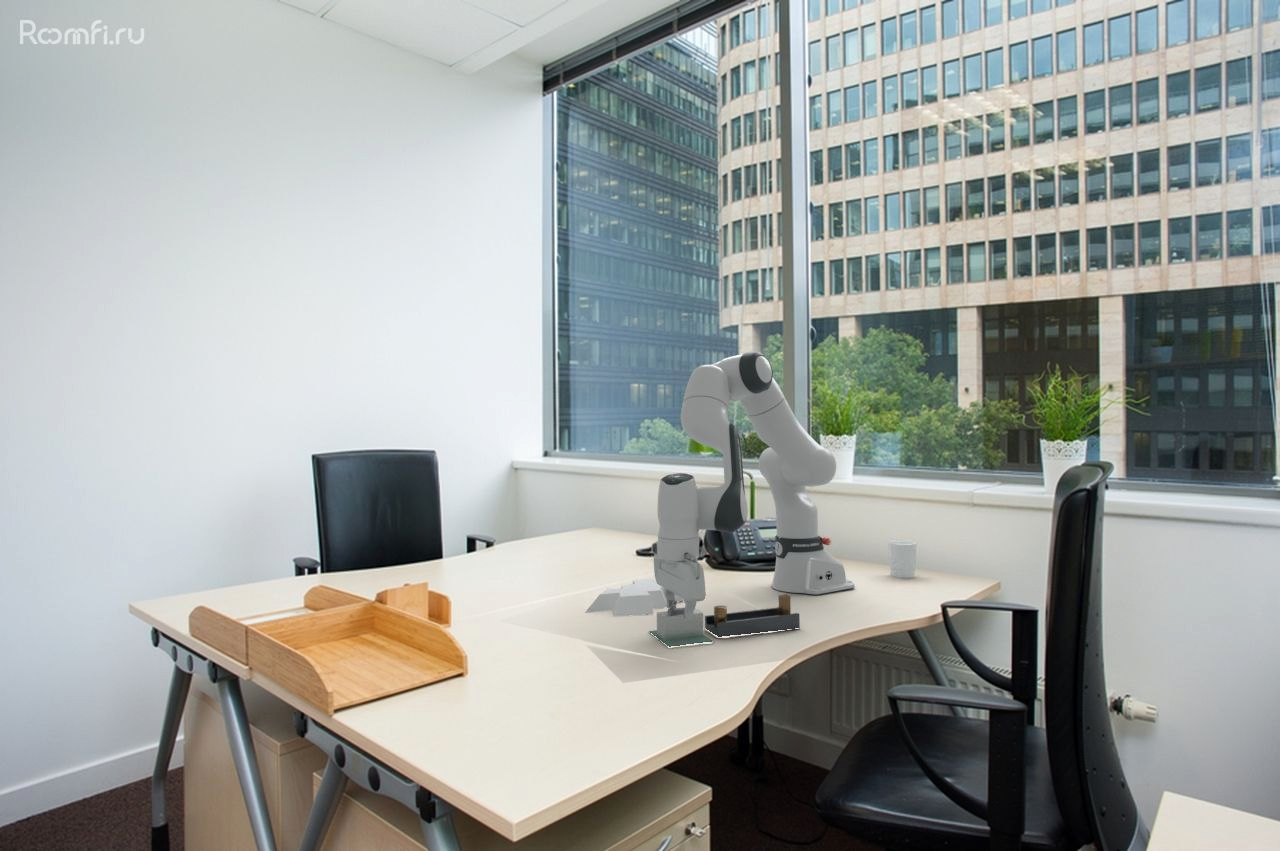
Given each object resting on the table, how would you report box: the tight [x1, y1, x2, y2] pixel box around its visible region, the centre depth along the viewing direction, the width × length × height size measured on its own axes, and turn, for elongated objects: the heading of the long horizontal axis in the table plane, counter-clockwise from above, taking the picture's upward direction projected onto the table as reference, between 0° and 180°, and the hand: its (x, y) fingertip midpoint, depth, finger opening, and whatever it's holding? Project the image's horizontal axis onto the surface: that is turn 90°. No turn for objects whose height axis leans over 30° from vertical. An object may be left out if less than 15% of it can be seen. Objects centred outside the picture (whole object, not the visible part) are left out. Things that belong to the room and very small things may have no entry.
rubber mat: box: [648, 629, 714, 647], centre depth 167 cm, size 10×12×1 cm
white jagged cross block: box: [585, 577, 684, 618], centre depth 196 cm, size 35×20×6 cm, turn 145°
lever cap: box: [656, 606, 704, 641], centre depth 167 cm, size 9×4×6 cm, turn 110°
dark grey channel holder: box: [704, 594, 801, 637], centre depth 173 cm, size 20×7×7 cm, turn 110°
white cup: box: [887, 539, 917, 579], centre depth 227 cm, size 8×8×10 cm
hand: (679, 613), depth 167 cm, fingers open, 8 cm apart
